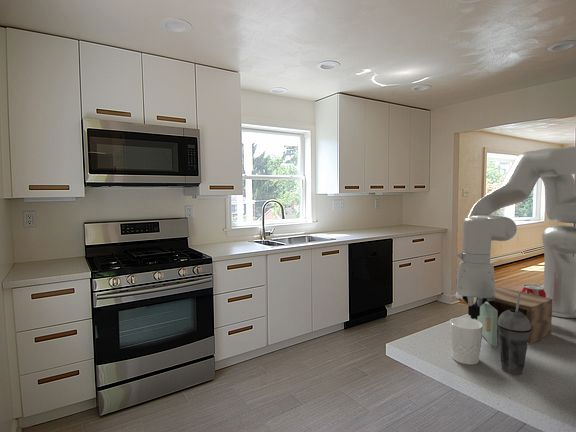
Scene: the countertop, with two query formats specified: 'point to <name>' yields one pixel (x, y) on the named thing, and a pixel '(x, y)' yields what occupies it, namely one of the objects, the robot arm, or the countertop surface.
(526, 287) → the soda can
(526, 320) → the beverage cup
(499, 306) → the wooden storage crate
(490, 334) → the door
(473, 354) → the white cup
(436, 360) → the countertop surface
